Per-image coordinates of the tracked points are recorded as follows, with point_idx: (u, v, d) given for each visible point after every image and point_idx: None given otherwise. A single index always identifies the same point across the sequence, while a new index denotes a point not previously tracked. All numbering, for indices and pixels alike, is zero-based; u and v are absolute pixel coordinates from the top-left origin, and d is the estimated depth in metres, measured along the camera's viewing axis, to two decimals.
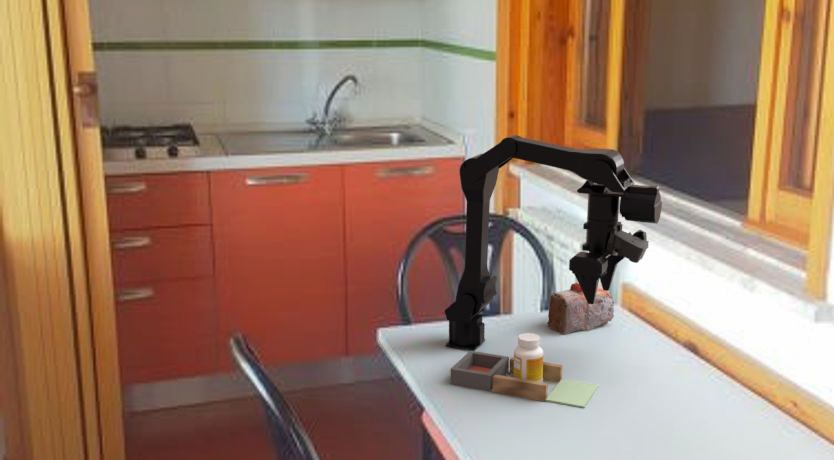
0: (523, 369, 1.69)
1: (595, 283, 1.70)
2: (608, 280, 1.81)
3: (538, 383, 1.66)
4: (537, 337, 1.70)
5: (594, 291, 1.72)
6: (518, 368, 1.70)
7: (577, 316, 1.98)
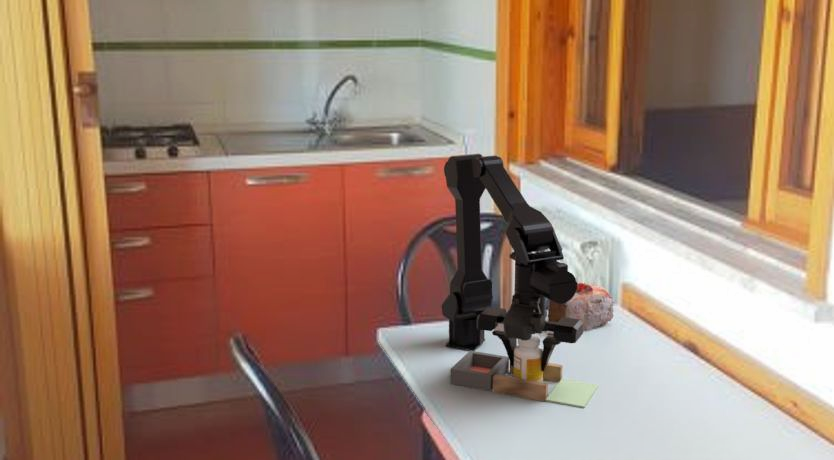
0: (523, 369, 1.69)
1: None
2: None
3: (538, 383, 1.66)
4: (537, 337, 1.70)
5: (508, 352, 1.72)
6: (518, 368, 1.70)
7: (577, 316, 1.98)
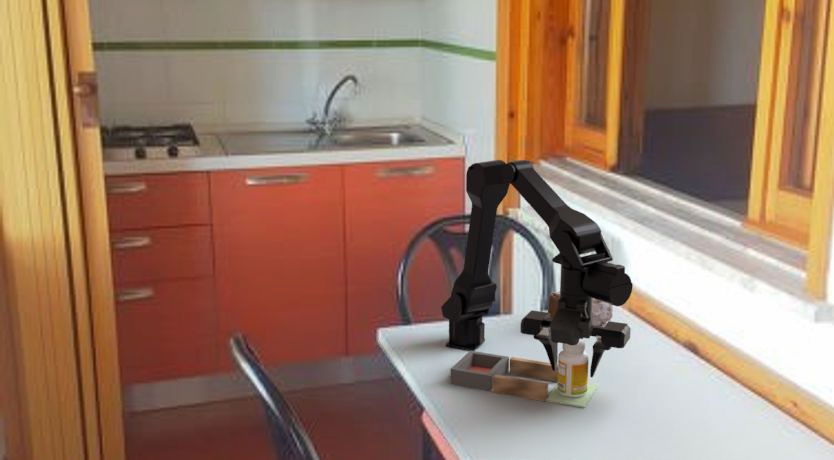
0: (569, 375, 1.65)
1: None
2: (591, 366, 1.66)
3: (538, 383, 1.66)
4: (582, 342, 1.66)
5: (549, 357, 1.68)
6: (562, 374, 1.66)
7: None
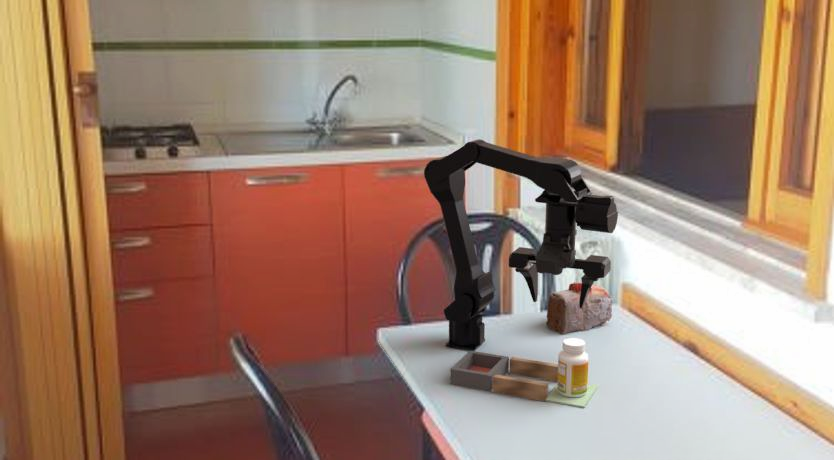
0: (569, 375, 1.65)
1: None
2: None
3: (538, 383, 1.66)
4: (582, 342, 1.66)
5: (530, 289, 1.81)
6: (562, 373, 1.66)
7: (576, 316, 1.98)
